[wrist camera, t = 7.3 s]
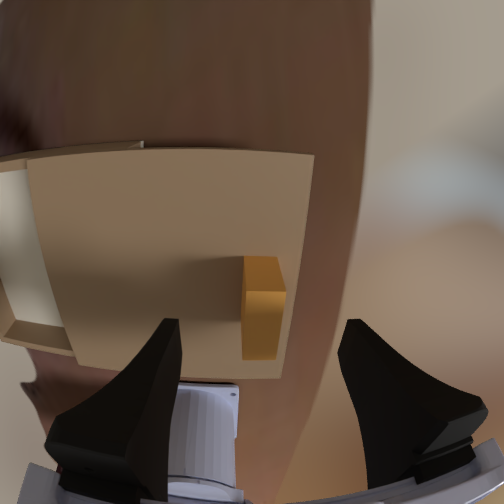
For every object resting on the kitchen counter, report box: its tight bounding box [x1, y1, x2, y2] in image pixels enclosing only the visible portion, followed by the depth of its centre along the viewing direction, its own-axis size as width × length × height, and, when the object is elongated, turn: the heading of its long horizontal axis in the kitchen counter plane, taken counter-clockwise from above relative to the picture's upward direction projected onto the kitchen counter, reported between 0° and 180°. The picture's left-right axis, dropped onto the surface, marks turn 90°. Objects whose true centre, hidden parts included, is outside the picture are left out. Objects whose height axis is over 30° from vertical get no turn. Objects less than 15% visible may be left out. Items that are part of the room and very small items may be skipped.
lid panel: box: [27, 147, 314, 379], centre depth 14 cm, size 14×14×4 cm
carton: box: [0, 141, 144, 357], centre depth 17 cm, size 14×14×3 cm
